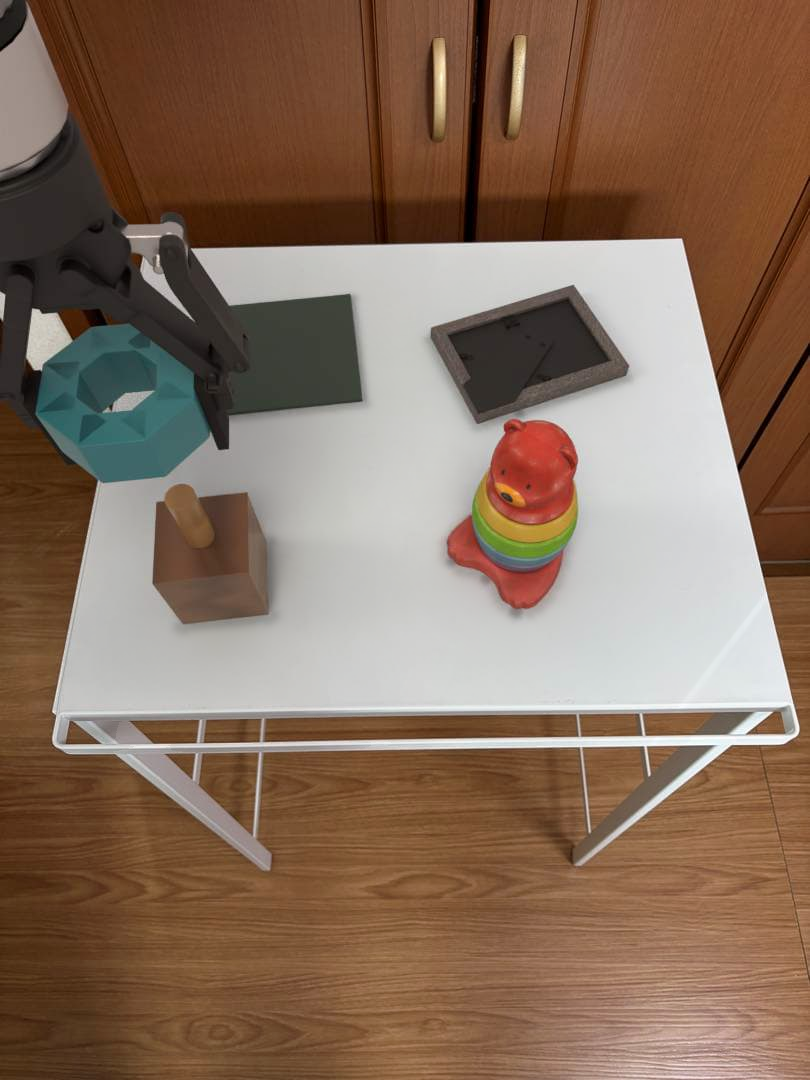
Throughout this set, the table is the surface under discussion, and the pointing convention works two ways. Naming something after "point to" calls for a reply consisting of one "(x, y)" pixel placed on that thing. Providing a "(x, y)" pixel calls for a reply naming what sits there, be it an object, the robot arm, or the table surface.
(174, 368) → the ring
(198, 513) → the ring stand
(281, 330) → the mat
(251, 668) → the table surface
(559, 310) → the picture frame
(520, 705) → the table surface
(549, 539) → the stacking bear
